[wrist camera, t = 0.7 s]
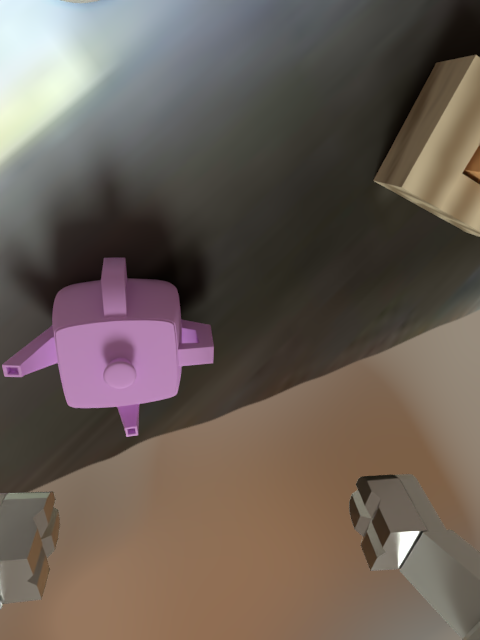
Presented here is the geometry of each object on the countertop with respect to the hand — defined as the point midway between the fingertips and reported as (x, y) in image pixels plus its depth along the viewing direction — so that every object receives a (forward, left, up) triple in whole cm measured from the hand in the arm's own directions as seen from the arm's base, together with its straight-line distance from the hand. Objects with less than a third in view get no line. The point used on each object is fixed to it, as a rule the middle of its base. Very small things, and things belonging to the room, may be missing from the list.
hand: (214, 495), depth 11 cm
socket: (-6, +39, -39) cm, 55 cm away
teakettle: (+14, -5, -40) cm, 42 cm away
